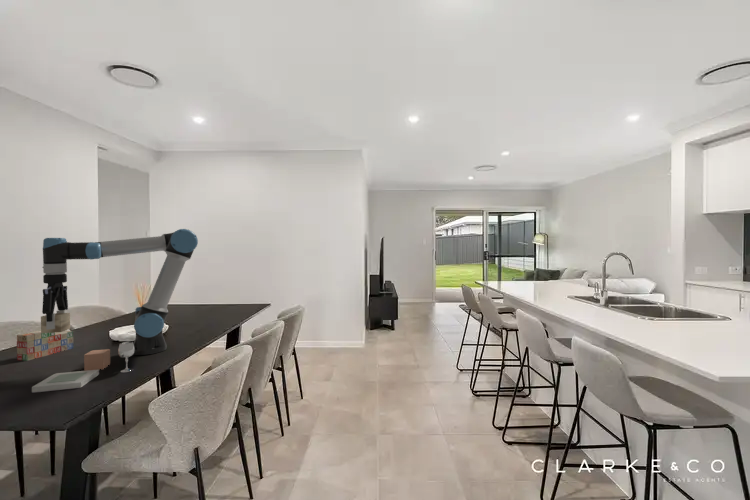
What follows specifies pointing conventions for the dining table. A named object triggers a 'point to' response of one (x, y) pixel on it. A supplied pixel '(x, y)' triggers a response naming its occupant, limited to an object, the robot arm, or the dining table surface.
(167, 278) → the robot arm
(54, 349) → the stack of blocks
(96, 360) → the terracotta block
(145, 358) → the dining table surface
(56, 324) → the maple block
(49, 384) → the base plate
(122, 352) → the wineglass
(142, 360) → the dining table surface
